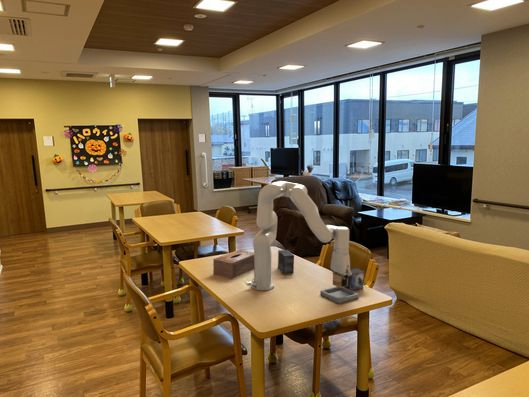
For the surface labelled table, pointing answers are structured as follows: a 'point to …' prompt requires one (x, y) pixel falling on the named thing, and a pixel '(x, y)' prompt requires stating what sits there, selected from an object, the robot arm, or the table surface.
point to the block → (338, 280)
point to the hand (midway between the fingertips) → (340, 283)
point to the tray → (339, 294)
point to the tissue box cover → (233, 264)
